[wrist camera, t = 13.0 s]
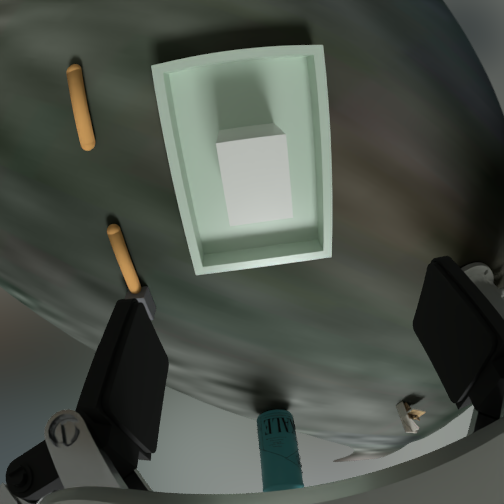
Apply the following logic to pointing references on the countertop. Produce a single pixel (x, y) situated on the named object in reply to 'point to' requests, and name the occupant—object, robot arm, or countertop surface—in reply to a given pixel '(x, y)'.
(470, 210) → the countertop surface
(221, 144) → the pale grey cuboid
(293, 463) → the beverage bottle
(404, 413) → the architectural model
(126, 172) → the countertop surface
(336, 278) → the countertop surface
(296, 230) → the tray
